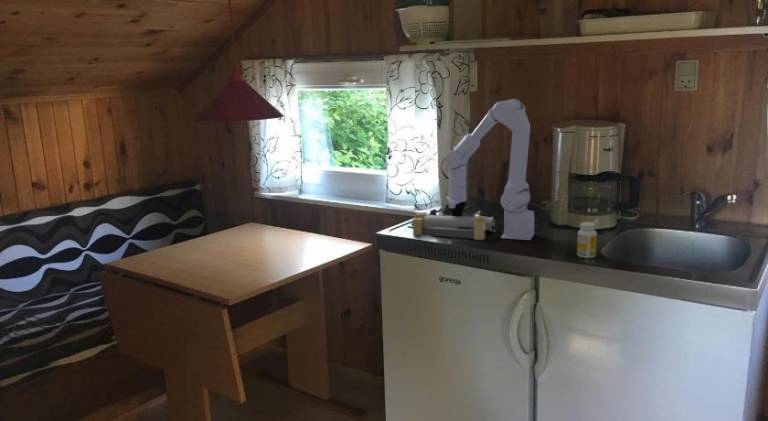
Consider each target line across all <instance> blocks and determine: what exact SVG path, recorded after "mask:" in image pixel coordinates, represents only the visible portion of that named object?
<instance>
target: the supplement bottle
mask: <svg viewBox="0 0 768 421" xmlns="http://www.w3.org/2000/svg"><path fill="white" fill-rule="evenodd" d="M595 229H596V223H594V222H589V221H585V222H581V223H580V229H579V230H578V231H577V243H576V244H577V245H576V255H577V257H579V258H583V257H584V258H585V259H589V258H595V256H596V255H597V240H598V233H597V231H596V230H595Z"/></svg>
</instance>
